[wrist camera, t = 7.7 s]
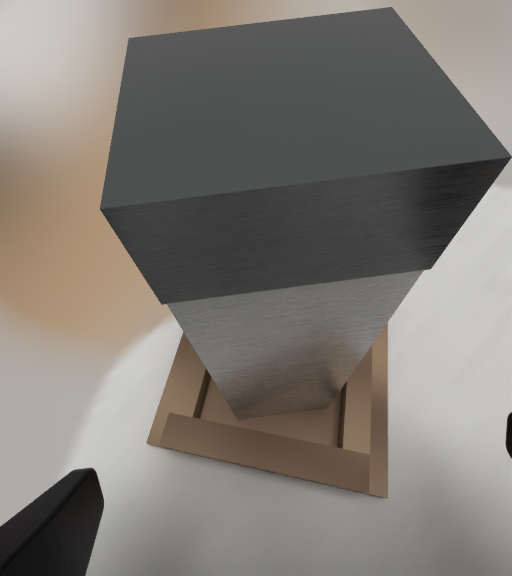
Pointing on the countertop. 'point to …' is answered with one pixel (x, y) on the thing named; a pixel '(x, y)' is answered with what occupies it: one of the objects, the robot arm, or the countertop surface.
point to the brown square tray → (284, 426)
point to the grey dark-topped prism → (290, 191)
